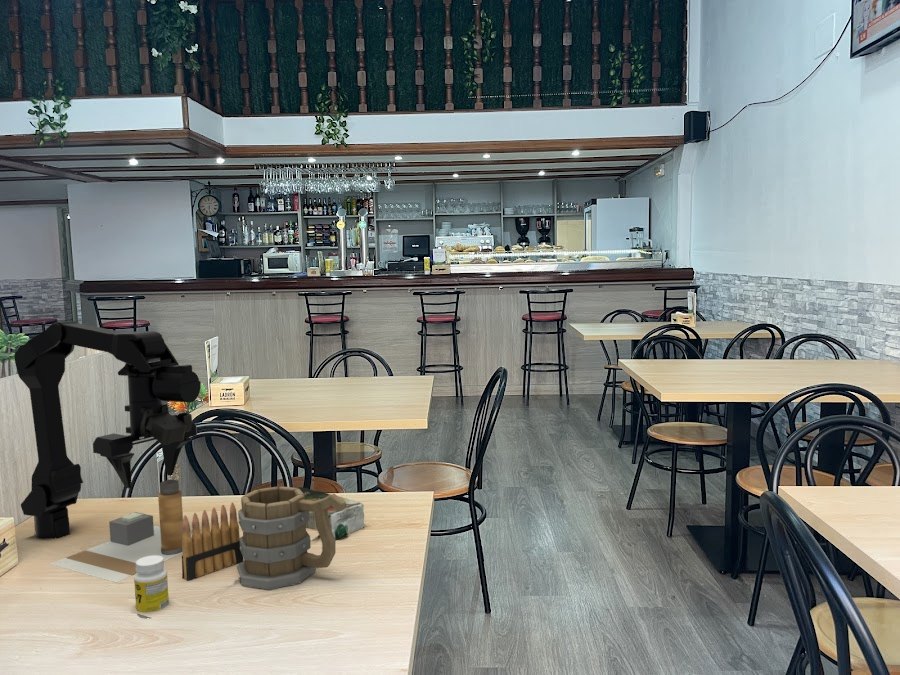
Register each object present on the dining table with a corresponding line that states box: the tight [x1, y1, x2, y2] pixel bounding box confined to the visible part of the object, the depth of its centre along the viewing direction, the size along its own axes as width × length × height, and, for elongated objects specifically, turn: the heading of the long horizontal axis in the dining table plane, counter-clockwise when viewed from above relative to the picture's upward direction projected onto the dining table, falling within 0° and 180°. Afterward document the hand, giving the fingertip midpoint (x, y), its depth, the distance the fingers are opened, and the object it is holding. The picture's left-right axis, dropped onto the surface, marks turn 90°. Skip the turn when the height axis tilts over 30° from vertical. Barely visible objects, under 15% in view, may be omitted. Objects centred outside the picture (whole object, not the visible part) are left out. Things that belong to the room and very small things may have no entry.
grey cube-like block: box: [108, 511, 154, 546], centre depth 140 cm, size 5×6×5 cm
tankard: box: [236, 486, 346, 591], centre depth 124 cm, size 20×13×15 cm, turn 69°
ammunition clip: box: [181, 502, 244, 582], centre depth 124 cm, size 11×2×12 cm, turn 137°
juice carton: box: [297, 486, 365, 541], centre depth 149 cm, size 20×10×6 cm, turn 54°
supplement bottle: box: [133, 555, 170, 620], centre depth 112 cm, size 5×5×8 cm
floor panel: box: [49, 524, 192, 583], centre depth 134 cm, size 18×22×1 cm
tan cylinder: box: [157, 479, 184, 555], centre depth 133 cm, size 4×4×13 cm
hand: (149, 481), depth 135 cm, fingers open, 9 cm apart
